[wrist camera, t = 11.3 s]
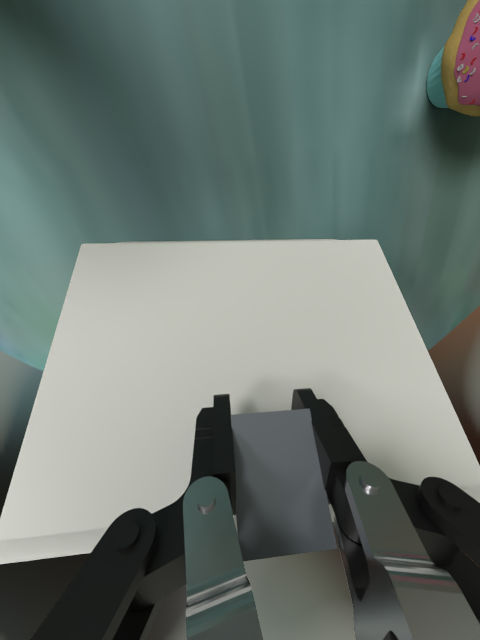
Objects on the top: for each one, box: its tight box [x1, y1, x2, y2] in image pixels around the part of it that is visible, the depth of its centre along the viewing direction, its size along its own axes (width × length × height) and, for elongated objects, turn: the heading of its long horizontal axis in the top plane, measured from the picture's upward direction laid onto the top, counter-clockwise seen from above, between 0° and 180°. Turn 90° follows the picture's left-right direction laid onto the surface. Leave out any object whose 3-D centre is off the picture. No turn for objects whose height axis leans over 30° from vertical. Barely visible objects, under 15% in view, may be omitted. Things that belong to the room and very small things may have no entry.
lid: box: [0, 240, 480, 564], centre depth 14 cm, size 18×24×8 cm
